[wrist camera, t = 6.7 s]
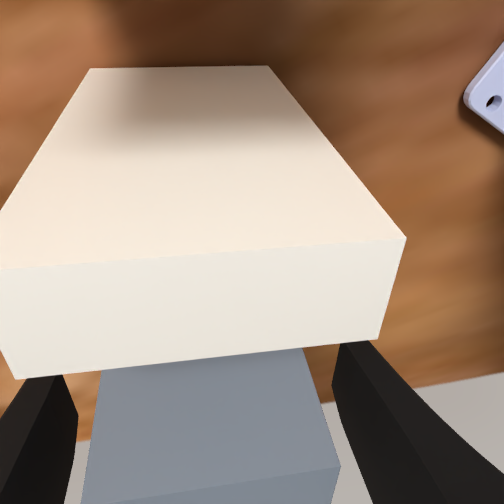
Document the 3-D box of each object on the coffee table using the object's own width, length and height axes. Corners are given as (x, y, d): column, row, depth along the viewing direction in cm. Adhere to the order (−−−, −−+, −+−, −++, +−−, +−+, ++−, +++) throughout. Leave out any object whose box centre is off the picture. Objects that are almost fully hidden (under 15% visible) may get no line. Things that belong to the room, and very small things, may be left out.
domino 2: (260, 262, 17) (329, 506, 9) (131, 274, 16) (100, 545, 9) (261, 224, 15) (340, 466, 8) (122, 235, 15) (80, 507, 8)
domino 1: (265, 126, 13) (376, 338, 6) (102, 132, 13) (15, 379, 5) (267, 65, 12) (406, 238, 5) (90, 68, 12) (-38, 272, 4)
